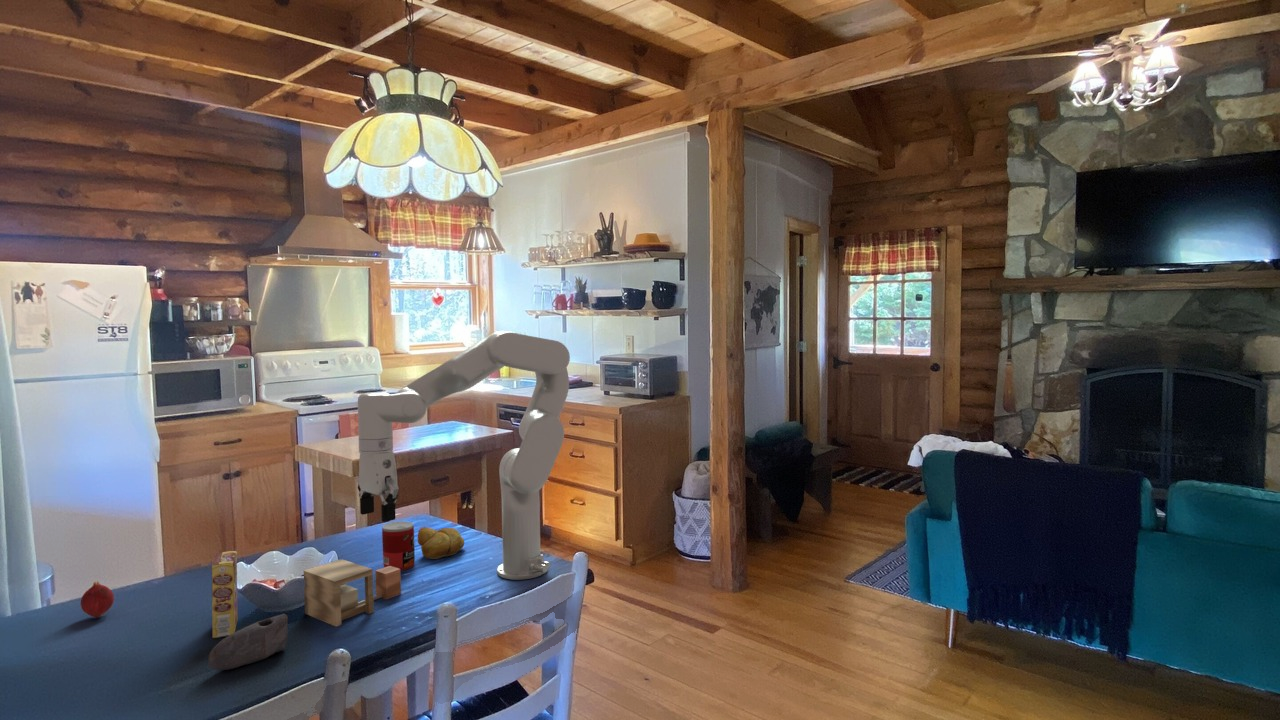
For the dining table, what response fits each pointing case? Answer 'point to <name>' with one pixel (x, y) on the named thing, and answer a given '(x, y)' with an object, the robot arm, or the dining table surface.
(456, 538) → the bread roll
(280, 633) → the perforated stone tool
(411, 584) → the dining table surface
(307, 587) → the oak shelf cubby
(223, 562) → the candy box
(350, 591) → the birch block with cord
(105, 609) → the red pomegranate
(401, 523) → the canned food
